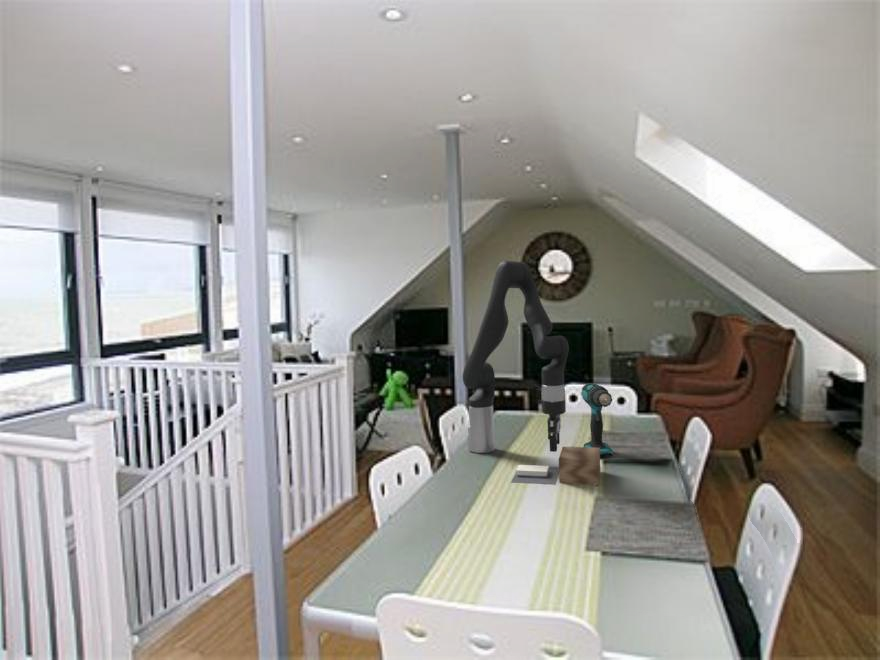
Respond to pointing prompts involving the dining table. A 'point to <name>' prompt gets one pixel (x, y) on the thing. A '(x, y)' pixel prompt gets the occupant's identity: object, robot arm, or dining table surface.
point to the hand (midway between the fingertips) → (554, 447)
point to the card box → (532, 470)
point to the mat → (539, 478)
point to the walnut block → (579, 465)
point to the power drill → (596, 414)
